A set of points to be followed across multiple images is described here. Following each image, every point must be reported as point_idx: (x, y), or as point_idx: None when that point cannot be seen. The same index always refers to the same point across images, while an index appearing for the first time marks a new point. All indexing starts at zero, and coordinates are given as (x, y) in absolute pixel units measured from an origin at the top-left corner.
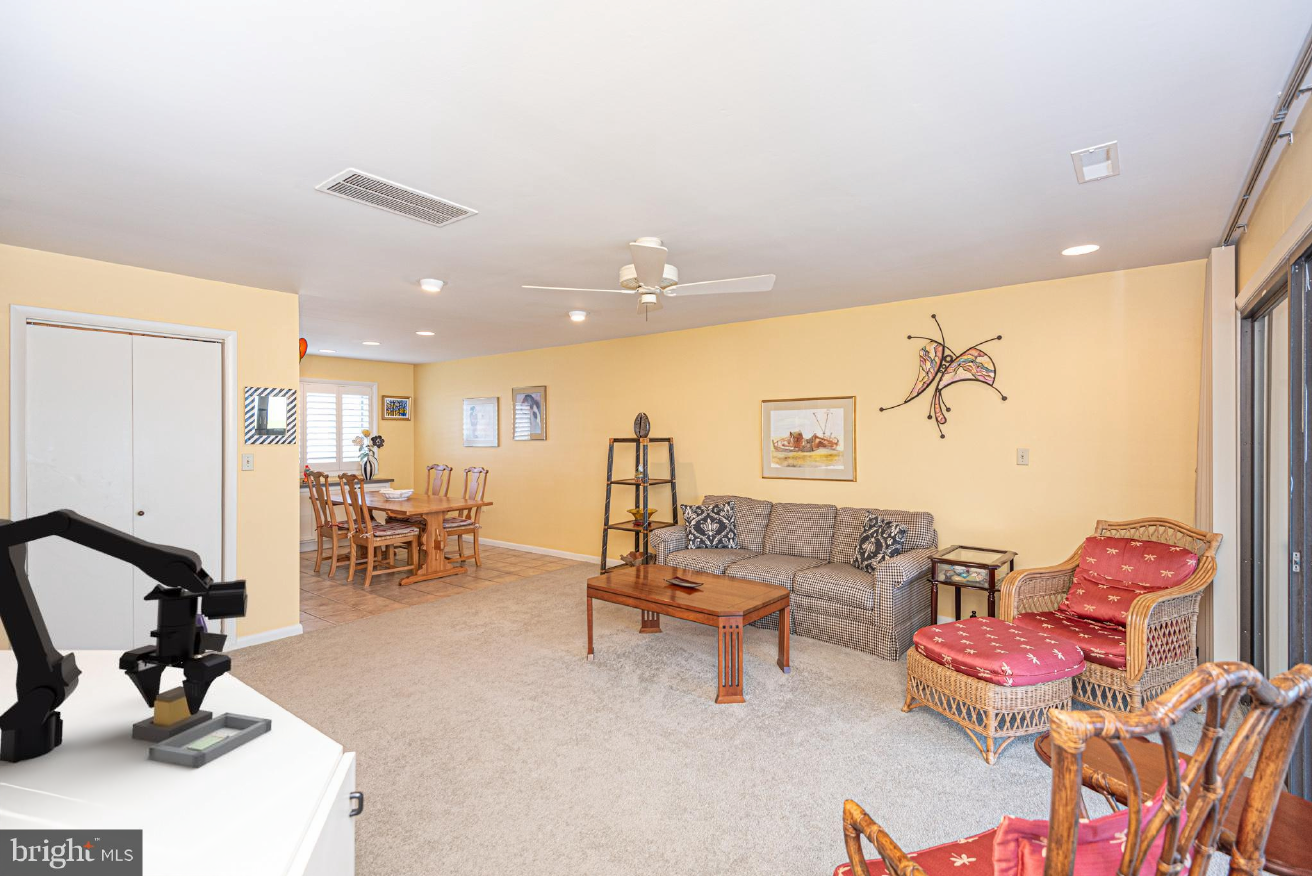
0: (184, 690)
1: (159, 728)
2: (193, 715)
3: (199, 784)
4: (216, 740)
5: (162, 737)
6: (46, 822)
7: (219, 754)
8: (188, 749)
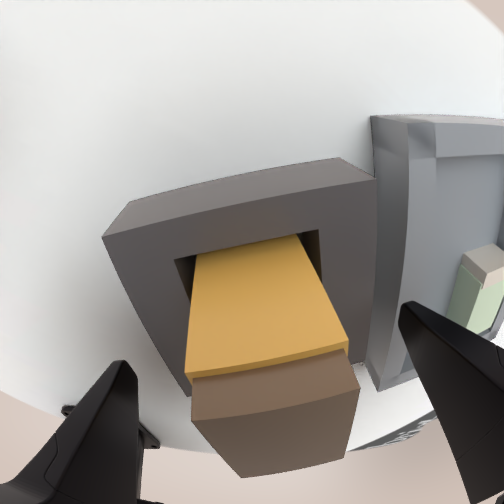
0: (457, 460)
1: None
2: (325, 257)
3: None
4: (500, 290)
5: None
6: (371, 437)
7: None
8: None
